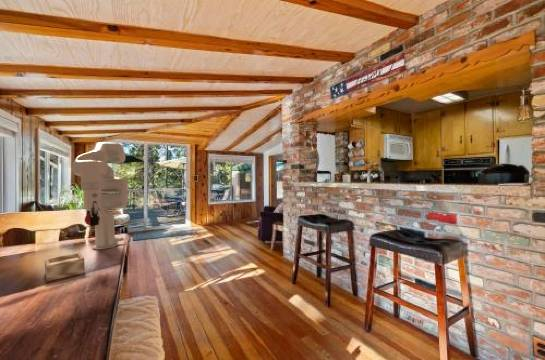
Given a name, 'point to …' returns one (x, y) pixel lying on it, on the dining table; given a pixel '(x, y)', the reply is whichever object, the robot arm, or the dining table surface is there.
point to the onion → (87, 218)
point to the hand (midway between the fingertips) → (92, 224)
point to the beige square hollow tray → (64, 266)
